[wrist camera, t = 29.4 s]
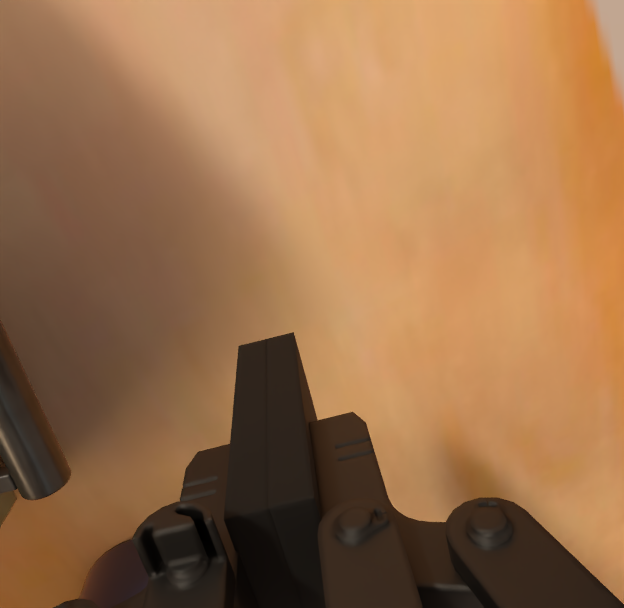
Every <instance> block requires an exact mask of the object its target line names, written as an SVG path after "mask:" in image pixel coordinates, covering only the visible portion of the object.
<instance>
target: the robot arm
mask: <svg viewBox="0 0 624 608" xmlns="http://www.w3.org/2000/svg"><path fill="white" fill-rule="evenodd" d="M132 541H133V543H134V546H135V548H136V550H137V552H138V554H139V557H140V559H141V561H142V563H143V566H144V568H145V570H146V572H147V574H148V577H149V579H148V584H147V587H146V588H144V589H143V590H142V591H140V592H139V593H137V594H135V595H134V596H132V597H131V598H129V599H127V600H125V601H123V602H121V603H119V604H117V605H115V606H113V607H111V608H624V604H623V603H622V602H621V601H620V600H618V599H617V598H616V597H615V596H614V595H613V594H612V593H611V592H610V591H609V590H608V589H607V588H606V587H605V586H604V585H603V584H602V583H601V582H600V581H599V580H598V579H597V578H596V577H595V576H593V575H592V574H591V573H590V572H589V571H588V570H587V569H586V568H585V567H584V566H583V565H582V564H581V563H580V562H579V561H578V560H577V559H576V558H575V557H574V556H573V555H572V554H571V553H570V552H569V551H567V550H566V549H565V548H564V547H563V546H562V545H561V544H560V543H559V542H558V541H557V540H556V539H555V538H554V537H553V536H552V535H551V534H550V533H549V532H548V531H547V530H546V529H545V528H544V527H542V526H541V525H540V524H539V523H538V522H537V521H536V520H535V519H534V518H533V517H532V516H531V515H530V514H529V513H528V512H527V511H526V510H524V509H523V508H521V507H520V506H518V505H517V504H515V503H514V502H511V501H507V500H504V499H500V498H478V499H474V500H470V501H467V502H465V503H463V504H462V505H460V506H459V507H457V508H456V509H454V510H453V511H452V513H451V514H450V516H449V518H448V519H447V521H446V522H425V521H418V520H414V519H411V518H408V517H406V516H404V515H403V514H401V513H399V512H398V511H397V510H396V509H395V508H394V507H393V506H392V504H391V502H390V500H389V498H388V495H387V492H386V489H385V485H384V482H383V479H382V475H381V472H380V469H379V465H378V462H377V459H376V455H375V452H374V449H373V445H372V442H371V439H370V435H369V432H368V429H367V425H366V422H364V421H363V420H362V419H361V418H360V417H358V416H357V415H356V414H355V413H353V412H350V413H346V414H342V415H338V416H334V417H330V418H326V419H322V420H318V421H317V416H316V413H315V409H314V405H313V402H312V398H311V394H310V391H309V387H308V383H307V380H306V376H305V372H304V369H303V365H302V361H301V358H300V354H299V350H298V347H297V343H296V339H295V336H294V332H293V333H289V334H285V335H281V336H277V337H273V338H269V339H265V340H261V341H257V342H253V343H249V344H245V345H241V346H239V348H238V359H237V371H236V383H235V394H234V406H233V417H232V429H231V440H230V444H228V445H223V446H219V447H215V448H211V449H207V450H203V451H199V452H197V454H196V455H195V457H194V458H193V459H192V461H191V462H190V464H189V465H188V466H187V468H186V471H185V476H184V481H183V489H182V492H181V497H180V502H176V503H173V504H170V505H168V506H165V507H162V508H161V509H159V510H158V511H156V512H155V513H153V514H152V515H150V516H149V517H148V518H147V519H146V520H145V521H144V522H143V523H142V524H141V525H140V526H139V527H138V528H137V530H136V532H135V534H134V536H133V538H132ZM54 608H99V607H98V606H97V605H96V604H95V603H94V602H93V601H92V600H86V599H75V600H71V601H66V602H64V603H62V604H60V605H58V606H56V607H54Z"/></svg>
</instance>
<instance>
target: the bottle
mask: <svg viewBox="0 0 624 608" xmlns="http://www.w3.org/2000/svg"><path fill="white" fill-rule="evenodd" d="M148 579H149V577H148V574H147V572H146V570H145V568H144V566H143V563H142V561H141V559H140V557H139V554H138V552H137V550H136V548H135V546H134V543H133V541H132V540H129V541H126V542H124V543H121V544H119V545H117V546H115V547H114V548H112V549H110V550H109V551H108V552H106V553H105V554H103V555H102V556H101V557H100V558H99V559H98V560H97V561H96V562H95V564H94V565H93V566H92V568H91V569H90V571H89V573H88V575H87V577H86V580H85V582H84V585H83V588H82V591H81V594H80V596H79V599H86V600H92V601H93V602H94V603H95V604H96V605H97V606H98V607H99V608H111V607H113V606H115V605H117V604H119V603H121V602H123V601H125V600H127V599H129V598H131V597H132V596H134V595H135V594H137V593H139V592H140V591H142V590H143V589H144V588H146V587H147V584H148Z"/></svg>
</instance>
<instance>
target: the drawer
mask: <svg viewBox="0 0 624 608" xmlns="http://www.w3.org/2000/svg"><path fill="white" fill-rule="evenodd" d="M0 456H1V458H2V460H3V462H4V463H5V465H6V466H4V467H0V527H1V525H2V524H3V522H4V520H5V518H6V517H7V515H8V513H9V512H10V510H11V508H12V506H13V505H14V503H15V501H16V500H17V497H16V495H15V493H14V490H16V489H17V488H18V490H19V492H20V494H21V496H22V497H23V498H25V499H27V500H38V499H42V498H44V497H47V496H49V495H51V494H53V493H55V492H56V491H58V490H59V489H61V488H62V487H63V486H64V485H65V484H66V483H67V482H68V480H69V479H70V476H71V469H70V467H69V465H68V462H67V460H66V458H65V456H64V454H63V452H62V450H61V448H60V446H59V443H58V441H57V439H56V437H55V435H54V433H53V431H52V429H51V426H50V424H49V422H48V420H47V418H46V416H45V414H44V412H43V409H42V407H41V405H40V403H39V401H38V399H37V397H36V395H35V392H34V390H33V388H32V386H31V384H30V382H29V380H28V378H27V375H26V373H25V371H24V369H23V367H22V365H21V363H20V361H19V358H18V356H17V354H16V352H15V350H14V348H13V346H12V344H11V341H10V339H9V337H8V335H7V333H6V331H5V329H4V327H3V324H2V322H1V320H0Z"/></svg>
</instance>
